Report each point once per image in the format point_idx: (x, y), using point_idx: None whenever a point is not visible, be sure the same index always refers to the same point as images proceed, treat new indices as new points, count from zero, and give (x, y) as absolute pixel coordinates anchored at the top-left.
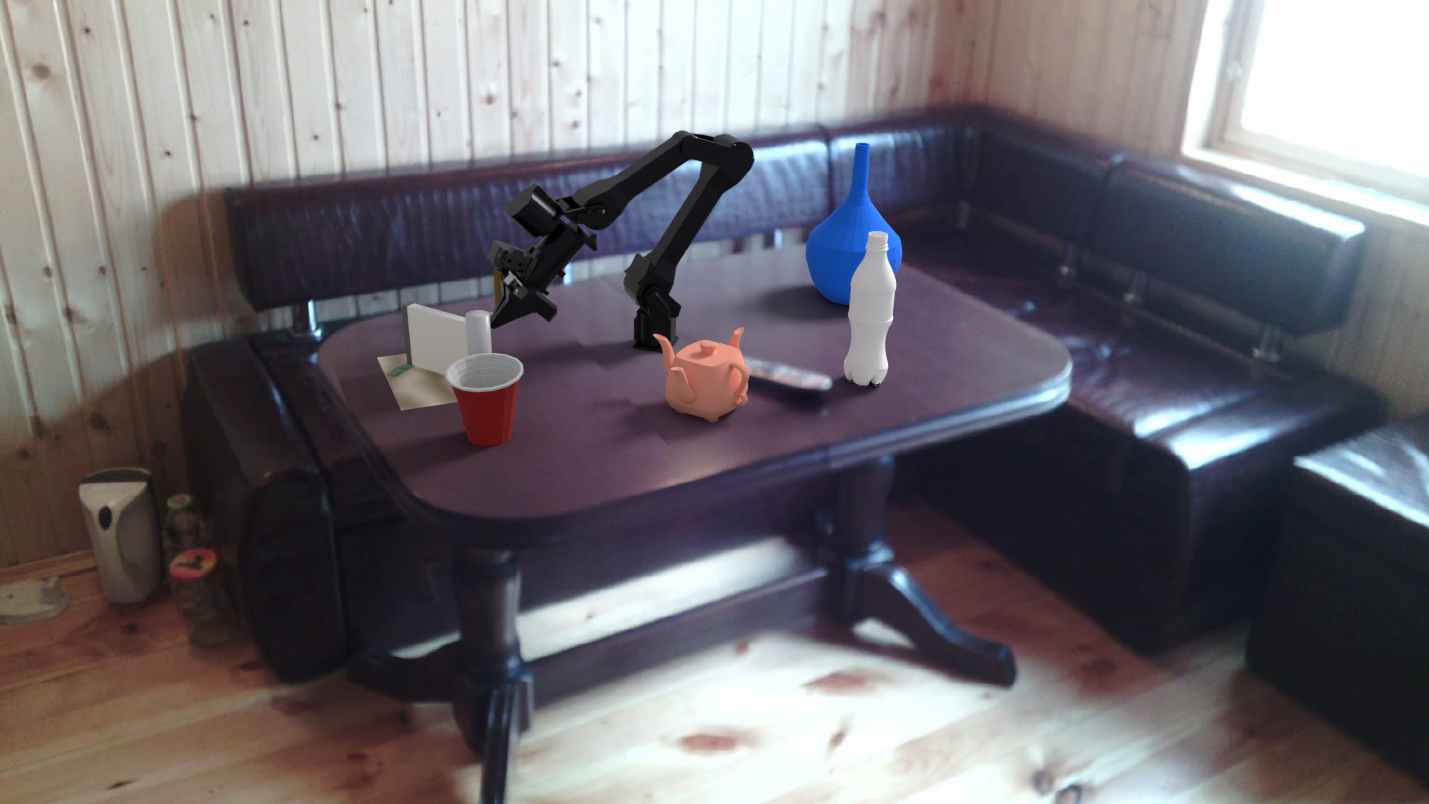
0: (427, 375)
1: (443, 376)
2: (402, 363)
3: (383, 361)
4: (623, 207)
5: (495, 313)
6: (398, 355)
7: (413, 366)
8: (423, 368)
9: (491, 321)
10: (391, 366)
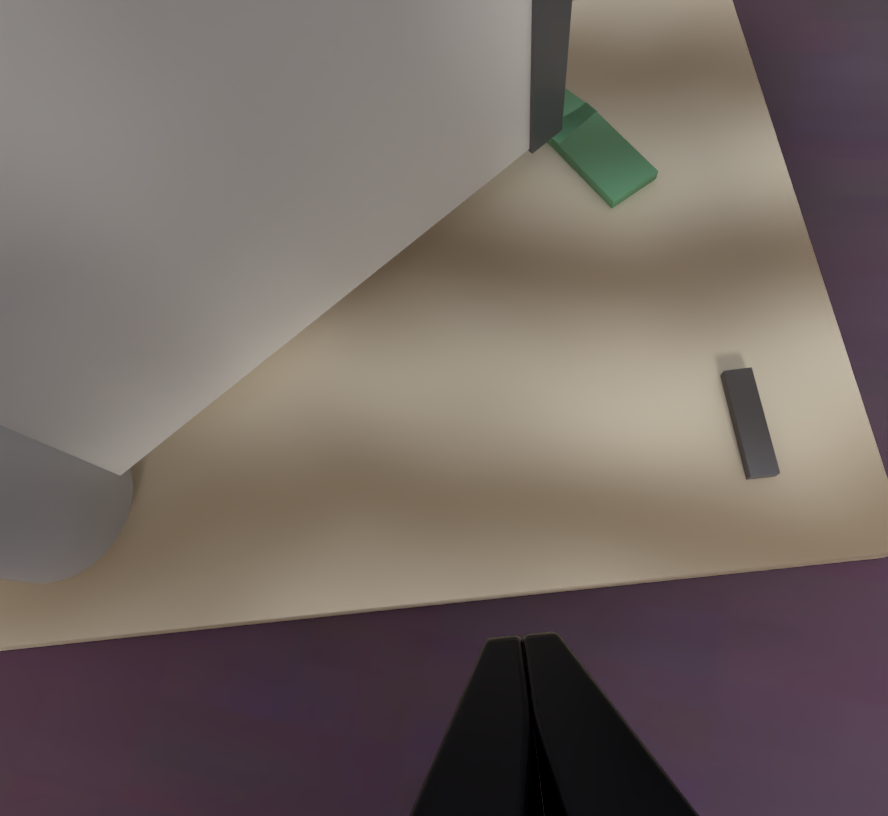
0: None
1: (346, 295)
2: (607, 91)
3: (658, 6)
4: None
5: (557, 786)
6: (738, 71)
7: (545, 144)
8: (504, 194)
9: (487, 678)
10: (574, 42)
